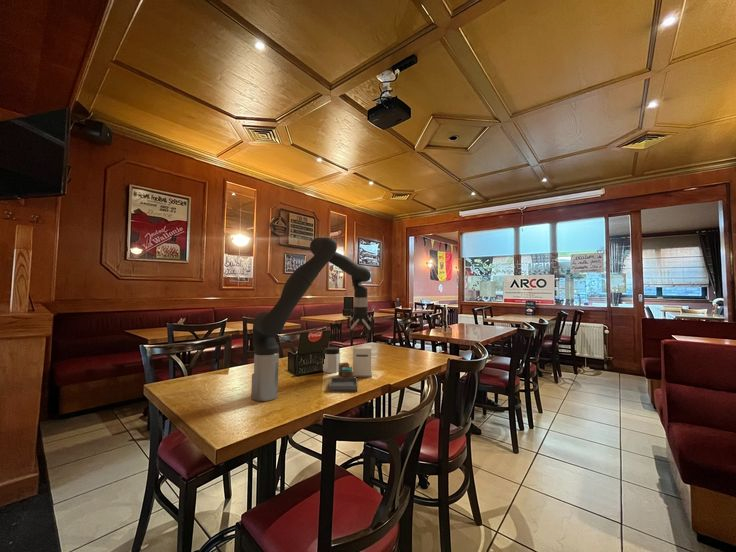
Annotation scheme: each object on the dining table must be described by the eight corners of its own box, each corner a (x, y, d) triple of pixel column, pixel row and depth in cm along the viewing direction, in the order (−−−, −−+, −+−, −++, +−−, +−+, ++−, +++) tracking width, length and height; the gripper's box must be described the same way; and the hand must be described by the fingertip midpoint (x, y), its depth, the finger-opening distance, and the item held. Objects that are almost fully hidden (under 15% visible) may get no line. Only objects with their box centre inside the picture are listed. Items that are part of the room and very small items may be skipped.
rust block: (340, 377, 147) (340, 365, 147) (338, 375, 151) (338, 362, 152) (349, 376, 148) (349, 364, 149) (347, 374, 153) (347, 362, 153)
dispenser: (351, 377, 147) (352, 348, 148) (352, 373, 155) (352, 345, 156) (372, 377, 147) (372, 348, 148) (371, 373, 155) (371, 345, 156)
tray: (328, 391, 126) (328, 385, 126) (331, 383, 138) (331, 377, 138) (357, 391, 126) (357, 385, 126) (357, 383, 138) (357, 377, 138)
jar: (342, 371, 158) (343, 348, 158) (329, 374, 153) (329, 350, 153) (333, 368, 165) (333, 345, 165) (320, 370, 160) (320, 347, 160)
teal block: (341, 382, 139) (342, 369, 139) (342, 379, 143) (342, 367, 143) (351, 382, 139) (351, 369, 139) (351, 379, 143) (352, 367, 144)
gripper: (347, 306, 157) (346, 337, 156) (374, 306, 157) (374, 337, 156) (347, 305, 164) (347, 335, 164) (373, 305, 165) (373, 335, 164)
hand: (360, 336), depth 160 cm, fingers open, 8 cm apart
